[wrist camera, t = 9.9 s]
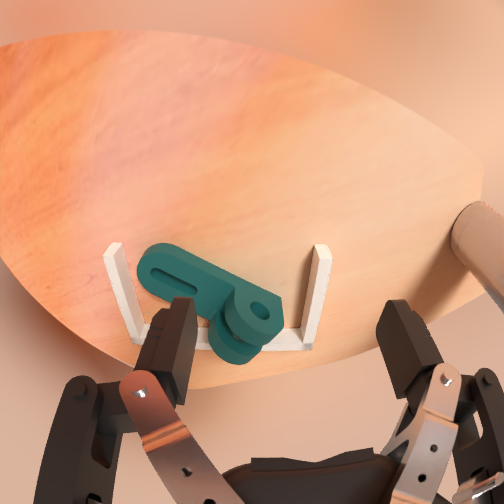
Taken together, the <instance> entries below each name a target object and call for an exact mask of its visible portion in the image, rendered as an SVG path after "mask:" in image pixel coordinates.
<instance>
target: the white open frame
mask: <svg viewBox="0 0 504 504" xmlns="http://www.w3.org/2000/svg"><path fill="white" fill-rule="evenodd" d="M103 259H104V262H105V266H106V269H107V272H108V275H109V279H110V282H111V285H112V288H113V291H114V294H115V297H116V300H117V302H118V305H119V308H120V311H121V313H122V316H123V319H124V321H125V324H126V327H127V329H128V332H129V334H130V337H131V339H132V341H133V344H139V345H143V343H144V340H145V338H146V335H147V332H148V330H149V328H150V324H145V321H144V318H143V315H142V312H141V309H140V306H139V302H138V299H137V296H136V292H135V289H134V285H133V282H132V278H131V274H130V270H129V267H128V263H127V259H126V255H125V251H124V246H123V243H112V244H111V245H110V246H109V248H108V249H107V250H106V252H105V253H104V255H103ZM332 261H333V258H332V255H331V253H330V251H329V249H328V246H327V245H317V244H314V251H313V257H312V264H311V270H310V276H309V282H308V288H307V293H306V299H305V305H304V310H303V315H302V321H301V326H300V328H283V329H282V331H281V332H280V333H279V334H278V335H277V336H276V337H275V338H274V339H273V340H272V341H270V342H269V343H268V344H266V345H263V347H262V349H261V351H292V350H312V346H313V342H314V339H315V335H316V331H317V327H318V323H319V319H320V315H321V311H322V307H323V302H324V298H325V294H326V289H327V285H328V280H329V276H330V271H331V266H332ZM233 336H234V335H233ZM234 337H235V336H234ZM235 338H236V337H235ZM236 339H237V338H236ZM237 340H238V339H237ZM195 349H200V350H213V349H212V348H211V346H210V344H209V341H208V327H198V336H197V342H196V347H195Z"/></svg>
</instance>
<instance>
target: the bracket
mask: <svg viewBox="0 0 504 504" xmlns="http://www.w3.org/2000/svg"><path fill="white" fill-rule="evenodd" d="M137 276H138V279H139V281H140V283H141V284H142V286H143V287H144V288H145V289H146V290H147V291H149V292H150V293H152V294H154V295H156V296H158V297H160V298H162V299H164V300H166V301H168V302H170V303H172V301H173V298H174V297H175V296H178V297H193V298H194V303H195V310H196V314H197V315H199V316H201V317H203V318H206V319H208V320H209V328H208V341H209V344H210V346H211V348H212V349H213V351H214V352H215V353H216V354H217V355H218V356H219V357H220V358H221V359H223V360H224V361H226V362H228V363H231V364H235V365H242V364H246V363H248V362H249V361H250V360H251V359H252V358H254V357H255V356H256V355H257V354H258V353H259V352H260V351H261V349H262V347H263V345H266V344H268V343H269V342H270V341H272V340H273V339H274V338H275V337H276V336H277V335H278V334H279V333H280V332H281V331H282V329H283V327H284V317H283V309H282V301H281V297H279V296H277V295H275V294H273V293H271V292H269V291H267V290H264V289H262V288H260V287H258V286H256V285H254V284H252V283H250V282H248V281H246V280H244V279H242V278H240V277H238V276H235V275H233V274H231V273H229V272H227V271H225V270H223V269H221V268H219V267H217V266H215V265H213V264H211V263H209V262H207V261H205V260H203V259H201V258H199V257H197V256H195V255H193V254H191V253H189V252H187V251H185V250H183V249H181V248H179V247H177V246H175V245H172V244H168V243H159V244H155V245H152V246H151V247H149V248H148V249H147V250H146V251H145V253H144V254H143V256H142V258H141V260H140V262H139V263H138V266H137ZM233 335H234V336H235V337H236V338H237V339H238V340H237V339H236V338H235V337H234V336H233Z"/></svg>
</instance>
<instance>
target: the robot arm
mask: <svg viewBox="0 0 504 504" xmlns="http://www.w3.org/2000/svg"><path fill="white" fill-rule="evenodd" d="M450 242H451V249H452V251H453V253H454V254H455V255H456V256H457V258H458V259H459V260H460V261H461V262H462V263H463V264H464V265H465V266H466V267H467V269H468V270H469V271H470V272H471V273H472V274H473V276H474V277H475V278H476V279H477V280H478V282H479V283H480V284H481V285H482V286H483V288H484V289H485V290H486V291H487V292H488V294H489V295H490V296H491V297H492V299H493V300H494V301H495V303H496V304H497V305H498V307H499V308H500V309H501V311H502V312H503V313H504V217H503V216H502V215H501V214H499V213H498V212H496V211H495V210H494V209H492V208H491V207H490V206H488V205H487V204H485V203H483V202H475V203H473V204H471V205H469V206H468V207H466V208H465V209H464V210H463V211H462V213H461V214H460V215H459V217H458V218H457V220H456V222H455V224H454V227H453V229H452V233H451V240H450ZM197 336H198V323H197V316H196V310H195V303H194V298H193V297H178V296H175V297H174V298H173V301H172V304H171V307H170V309H165V308H161V309H160V310H159V311H158V312H157V314H156V315H155V316H154V317H153V319H152V322H151V324H150V328H149V330H148V332H147V335H146V338H145V340H144V343H143V346H142V349H141V351H140V354H139V357H138V360H137V363H136V366H135V368H134V370H133V371H132V372H130V373H128V374H127V375H125V376H124V378H123V379H122V380H121V381H118V382H111V383H102V384H101V383H100V384H96V382H95V381H94V380H93V379H92V378H90V377H88V376H76V377H74V378H72V379H71V380H70V381H69V382H68V383H67V384H66V386H65V388H64V391H63V394H62V397H61V399H60V402H59V405H58V408H57V411H56V414H55V417H54V420H53V423H52V427H51V430H50V433H49V437H48V440H47V444H46V447H45V451H44V455H43V459H42V463H41V467H40V472H39V476H38V481H37V485H36V491H35V496H34V502H33V504H112V497H113V489H114V483H115V476H116V470H117V462H118V457H119V452H120V446H121V441H122V436H123V433H131V432H138V434H139V436H140V437H141V440H142V442H143V444H142V445H143V448H144V450H145V452H146V454H147V456H148V458H149V460H150V462H151V463H152V465H153V467H154V468H155V470H156V472H157V473H158V475H159V477H160V478H161V480H162V482H163V483H164V485H165V487H166V488H167V489H168V491H169V493H170V494H171V496H172V497H173V499H174V500H175V502H176V503H177V504H452V503H453V504H504V393H503V390H502V387H501V385H500V383H499V380H498V378H497V376H496V375H495V373H494V372H493V371H492V370H490V369H488V368H481V369H479V370H478V372H477V373H476V374H475V375H474V376H470V375H461V374H460V373H459V371H458V370H457V369H456V368H455V367H454V366H453V365H451V364H448V363H444V361H443V359H442V357H441V355H440V353H439V351H438V348H437V346H436V344H435V342H434V340H433V338H432V337H431V336H430V332H429V331H428V329H427V327H426V325H425V323H424V321H423V319H422V318H421V317H420V316H419V315H418V314H417V313H416V312H415V311H411V309H410V307H409V305H408V303H407V302H406V301H405V300H388V301H387V302H386V304H385V307H384V309H383V312H382V314H381V317H380V319H379V321H378V324H377V327H376V338H377V341H378V344H379V347H380V349H381V352H382V355H383V358H384V361H385V364H386V367H387V370H388V373H389V376H390V379H391V382H392V385H393V388H394V391H395V394H396V398H397V399H402V398H407V401H408V402H407V403H406V405H405V407H404V409H403V411H402V414H401V416H400V419H399V421H398V423H397V426H396V428H395V430H394V432H393V434H392V437H391V438H390V440H389V442H388V443H387V445H386V446H385V447H384V448H383V450H382V451H381V453H380V454H374V452H373V448H367V449H361V450H355V451H349V452H344V453H342V454H339V455H337V456H334V457H331V458H328V459H326V460H323V461H320V462H315V463H314V462H307V461H300V460H294V459H288V458H251V463H249V464H244V465H241V466H237V467H235V468H232V469H230V470H228V471H226V472H225V473H223V474H222V475H221V474H220V473H219V472H218V470H217V469H216V468H215V467H214V465H213V464H212V462H211V461H210V460H209V458H208V457H207V456H206V454H205V453H204V451H203V450H202V449H201V447H200V446H199V445H198V443H197V442H196V440H195V439H194V438H193V436H192V434H191V433H190V431H189V430H188V428H187V427H186V426H185V425H184V424H183V422H182V421H181V419H180V418H179V416H178V414H177V413H176V412H175V408H176V404H178V405H184V403H185V398H186V393H187V387H188V382H189V377H190V372H191V367H192V362H193V357H194V352H195V347H196V342H197ZM476 411H478V414H479V417H480V420H481V424H482V427H483V435H482V437H481V438H480V437H479V433H478V430H477V426H476V423H475V420H474V416H473V414H474V413H475V412H476ZM451 452H452V453H453V457H454V462H455V467H456V472H457V478H458V484H459V488H458V490H457V493H456V494H454V495H453V497H452V503H450V502H449V501H448V500H446V499H445V498H444V497H442V496H441V495H439V494H438V493H437V490H438V488H439V485H440V483H441V481H442V478H443V475H444V473H445V470H446V467H447V464H448V461H449V458H450V455H451Z"/></svg>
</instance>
